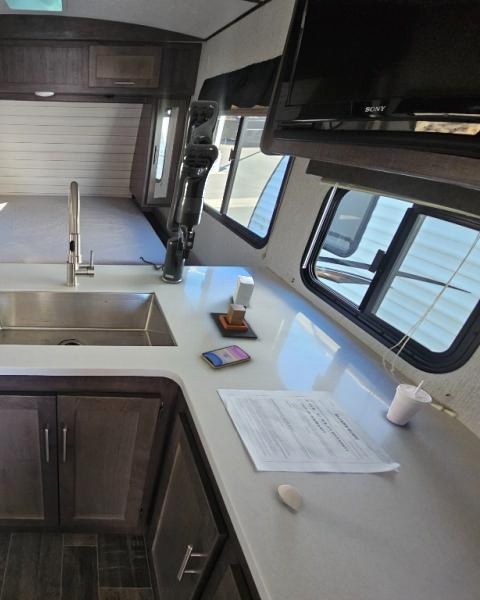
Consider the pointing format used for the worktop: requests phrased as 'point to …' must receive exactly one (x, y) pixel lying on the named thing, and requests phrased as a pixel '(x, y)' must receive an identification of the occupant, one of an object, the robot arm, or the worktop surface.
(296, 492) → the cream seashell
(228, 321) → the oak block
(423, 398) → the smoothie
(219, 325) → the dock pad
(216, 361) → the smartphone
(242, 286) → the small box
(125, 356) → the worktop surface
